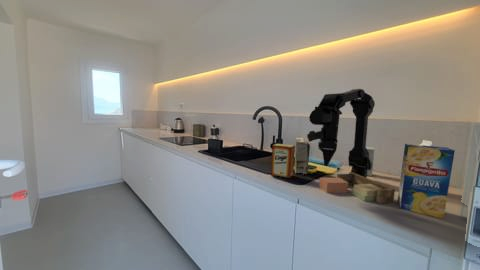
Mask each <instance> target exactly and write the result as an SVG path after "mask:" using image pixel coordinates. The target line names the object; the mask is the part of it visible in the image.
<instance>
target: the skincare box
mask: <svg viewBox="0 0 480 270" xmlns="http://www.w3.org/2000/svg"><path fill="white" fill-rule="evenodd" d="M366 149H367V151H368V152H369V158H370V161H371V163H372V168H371V170H367V177H368V176H369V177H373V170H374V159H375V148H374V147H372V146H371V147H370V146H366Z"/></svg>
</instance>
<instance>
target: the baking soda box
mask: <svg viewBox="0 0 480 270" xmlns="http://www.w3.org/2000/svg"><path fill="white" fill-rule="evenodd" d="M271 149H272V150H271V165H270V166H271V167H270V168H271V169H270V170H271V171H270V176H271V177H276V176H275V175H277V176H283V177H288V178H290V177H291V176H292V175H293V176H294V167H295V151H296V145H293V144H292V145H291V144H287V143H285V144H284V143H283V144H282V143H275V144H272V147H271ZM293 176H292V177H293ZM292 177H291V178H292ZM291 178H290V179H291Z"/></svg>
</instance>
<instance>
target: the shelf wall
mask: <svg viewBox="0 0 480 270" xmlns="http://www.w3.org/2000/svg"><path fill="white" fill-rule="evenodd" d="M348 174H354V179H353V185H352V186H354V185H359V184H372V185H374V186H377V187H379V188H382V189H377V198H376V201H375V203H376V204H390V203H391V204H392V203H394V198H395V192H396V191H395V188H392V187H390V186H387V185H385V184H383V183H379V182H378V181H375V180H374V179H373V180H372V179H370V178H368V177H367V178H365V177H363V176H360V175H358V174H355V173H353V172H351V171H349V172H348Z"/></svg>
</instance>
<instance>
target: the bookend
mask: <svg viewBox="0 0 480 270" xmlns="http://www.w3.org/2000/svg"><path fill="white" fill-rule="evenodd" d="M336 178H341V179H343V180H344V181H346V182H348V186H351V185H352V186H354V185H353V179H354V174H349V173H337V174H336Z"/></svg>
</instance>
